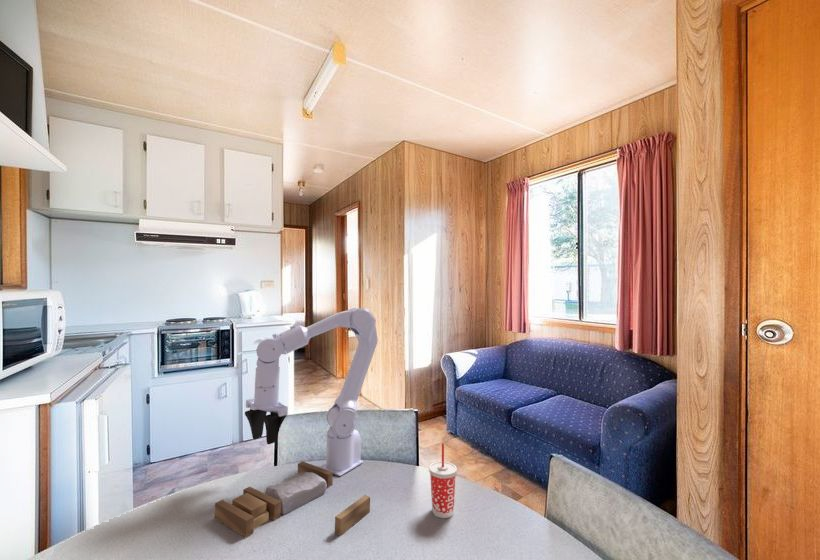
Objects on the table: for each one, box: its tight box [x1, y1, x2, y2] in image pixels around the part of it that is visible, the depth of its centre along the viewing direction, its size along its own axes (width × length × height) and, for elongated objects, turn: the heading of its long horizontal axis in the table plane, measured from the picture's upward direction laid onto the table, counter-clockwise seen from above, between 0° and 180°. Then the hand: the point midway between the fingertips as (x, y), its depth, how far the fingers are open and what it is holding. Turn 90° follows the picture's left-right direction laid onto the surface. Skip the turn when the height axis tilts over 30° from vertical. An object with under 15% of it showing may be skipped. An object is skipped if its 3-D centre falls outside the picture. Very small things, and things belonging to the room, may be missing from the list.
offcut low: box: [253, 511, 270, 530], centre depth 68 cm, size 4×8×2 cm, turn 58°
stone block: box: [264, 472, 328, 515], centre depth 76 cm, size 12×5×10 cm
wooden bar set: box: [214, 461, 371, 539], centre depth 70 cm, size 23×26×3 cm
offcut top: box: [231, 493, 267, 519], centre depth 68 cm, size 3×7×2 cm, turn 58°
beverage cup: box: [428, 442, 458, 519], centre depth 71 cm, size 6×6×14 cm
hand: (264, 440), depth 83 cm, fingers open, 5 cm apart
